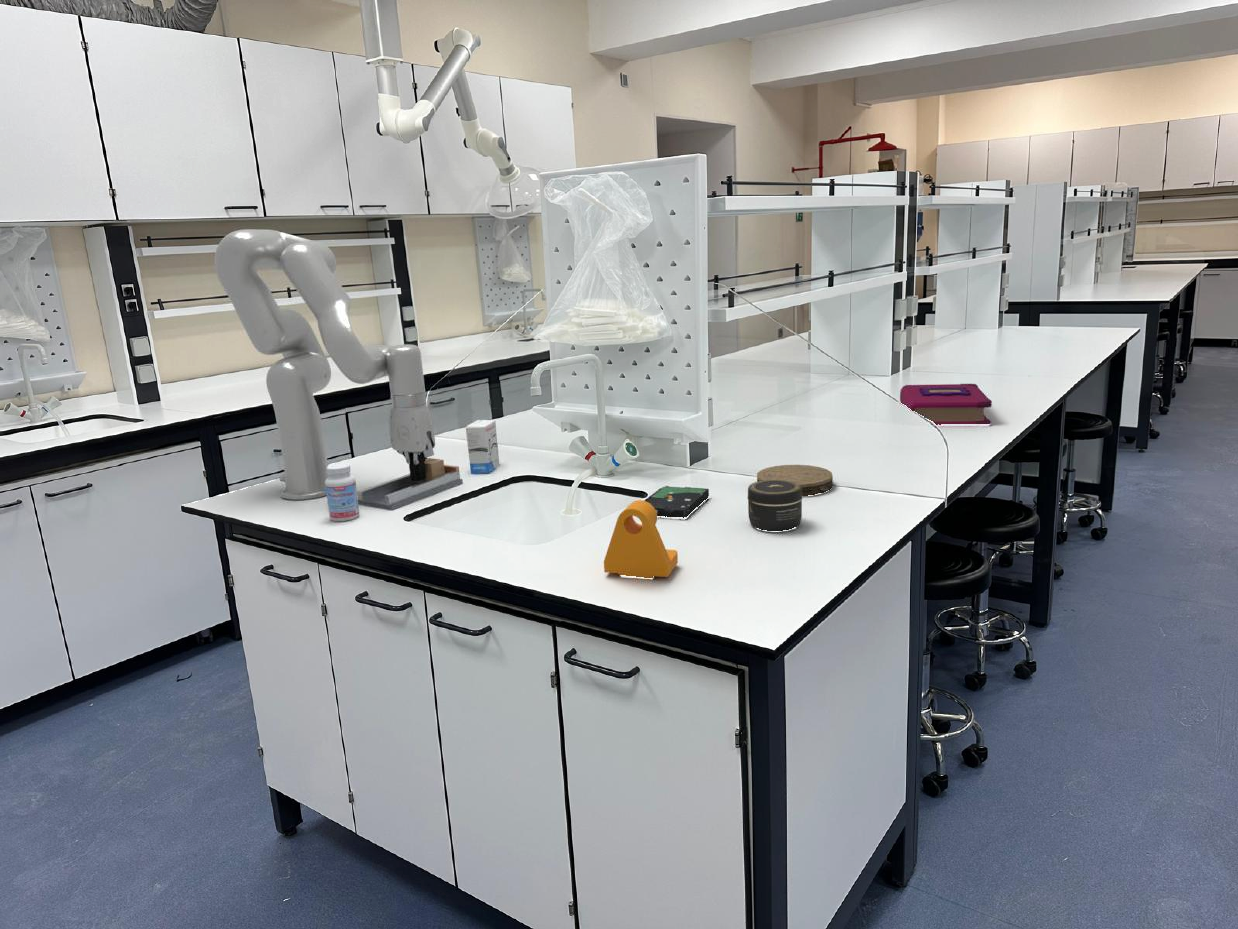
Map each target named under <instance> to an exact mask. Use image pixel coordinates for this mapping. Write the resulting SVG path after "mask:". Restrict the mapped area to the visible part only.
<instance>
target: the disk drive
mask: <svg viewBox="0 0 1238 929" xmlns="http://www.w3.org/2000/svg"><path fill="white" fill-rule="evenodd" d="M709 490H710V489H709V488H703V487H702V488H701V487H690V486H685V487H683V486H682V487H681V486H669V485H665V486H662V487H660V488H659V489H657V490H656V491H655V492H653V493H652V494H651V495H650V496H647V498H646V499H644V500H643V501H646V502H648V503H650V504H651V505H652V506H653V507H654V508H655V510H656V513H657V516H665V517H666V516H667V517H683V518H684V517H687V516H688V515H689V514H690V513H691V512H692V511H693V510H694V509H695V508H696V507H698V506H699V505H700V504H701V503H702V502H703V501H704V500H706V499H707V498H708V496H710V491H709Z"/></svg>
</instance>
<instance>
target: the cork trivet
mask: <svg viewBox="0 0 1238 929" xmlns="http://www.w3.org/2000/svg"><path fill="white" fill-rule="evenodd" d="M833 479H834V478H833V473H832V471H831V470H828V468H827V469H826V468H824V467H820V466H815V465H809V464H808V465H806V464H783V465H775V466H770V467H766V468H763V469H761V470H759V471H758V472H757V473H756V482H758V481H763V480H787V481H792V482H795V483H798V484H799V485H800V486H801V488H802V496H808V495H815V494H818V493H824V492H826V491H828V490H830V489H831V488H832V489H833V487H834V486H833V484H834V483H833ZM832 489H831V490H832ZM831 490H830V491H831ZM826 493H827V492H826ZM824 494H825V493H824Z"/></svg>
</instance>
